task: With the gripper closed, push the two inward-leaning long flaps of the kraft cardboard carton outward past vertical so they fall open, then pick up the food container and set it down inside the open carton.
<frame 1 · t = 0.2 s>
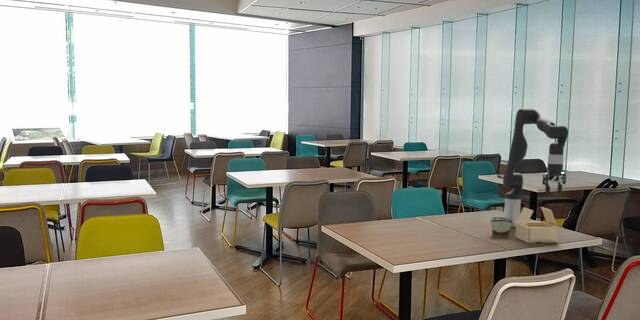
hand: (553, 192, 283), 28 cm above the table, tool pointing down, fingers open, 8 cm apart
flap front: (525, 215, 291), point 14 cm above the table, hinge at -25.0°
carton: (535, 239, 293), on the table
food container: (499, 235, 303), on the table
flap back: (548, 215, 293), point 14 cm above the table, hinge at -25.0°
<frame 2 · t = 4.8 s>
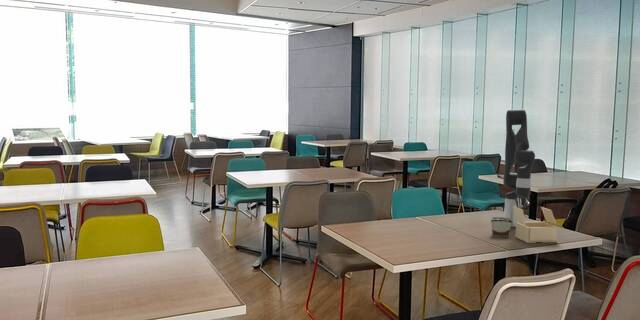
hand: (521, 216, 291), 13 cm above the table, tool pointing down, fingers closed
flap front: (519, 215, 291), point 14 cm above the table, hinge at 14.2°, touching gripper
everything else where it was.
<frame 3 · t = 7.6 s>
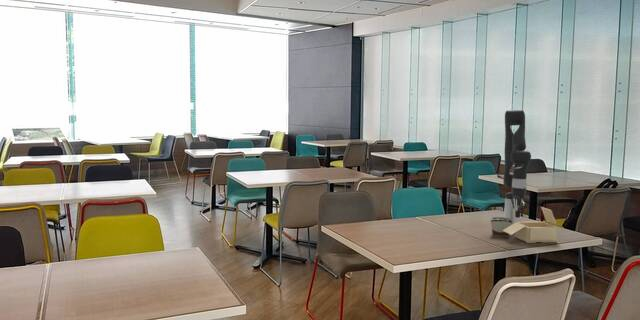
hand: (517, 217, 291), 13 cm above the table, tool pointing down, fingers closed
flap front: (513, 228, 291), point 6 cm above the table, hinge at 120.3°
everything else where it was.
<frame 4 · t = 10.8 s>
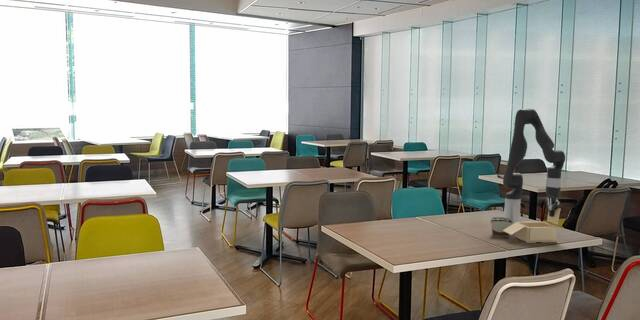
hand: (551, 216, 293), 13 cm above the table, tool pointing down, fingers closed
flap back: (553, 214, 293), point 14 cm above the table, hinge at 9.0°, touching gripper
everything else where it was.
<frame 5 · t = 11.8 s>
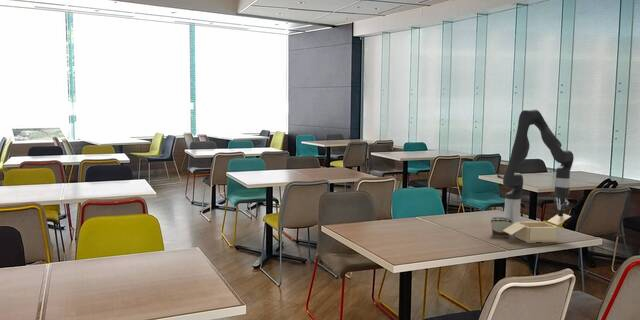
hand: (560, 216, 294), 13 cm above the table, tool pointing down, fingers closed
flap back: (559, 218, 294), point 12 cm above the table, hinge at 58.1°
everything else where it was.
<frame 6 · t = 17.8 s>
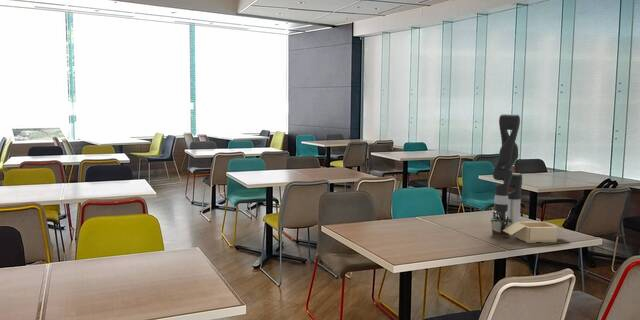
hand: (499, 231, 303), 2 cm above the table, tool pointing down, fingers open, 6 cm apart
food container: (499, 235, 303), on the table, touching gripper
flap back: (558, 227, 295), point 6 cm above the table, hinge at 120.3°
everything else where it was.
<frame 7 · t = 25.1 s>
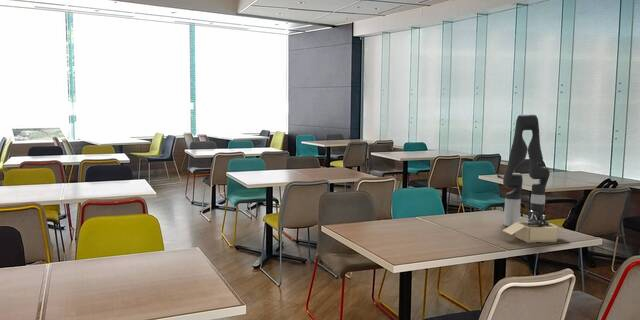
hand: (536, 231, 293), 5 cm above the table, tool pointing down, fingers closed on carton, 6 cm apart
food container: (534, 237, 295), point 1 cm above the table, touching carton
everything else where it was.
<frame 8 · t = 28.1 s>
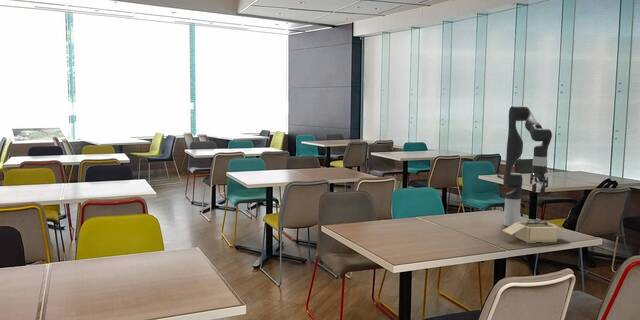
hand: (538, 193, 291), 26 cm above the table, tool pointing down, fingers open, 8 cm apart
at the end: flap front at +120° (first picture: -25°); flap back at +120° (first picture: -25°); food container inside the target area on the carton (1.8 cm from its centre), point 0.3 cm above the carton's base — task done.
